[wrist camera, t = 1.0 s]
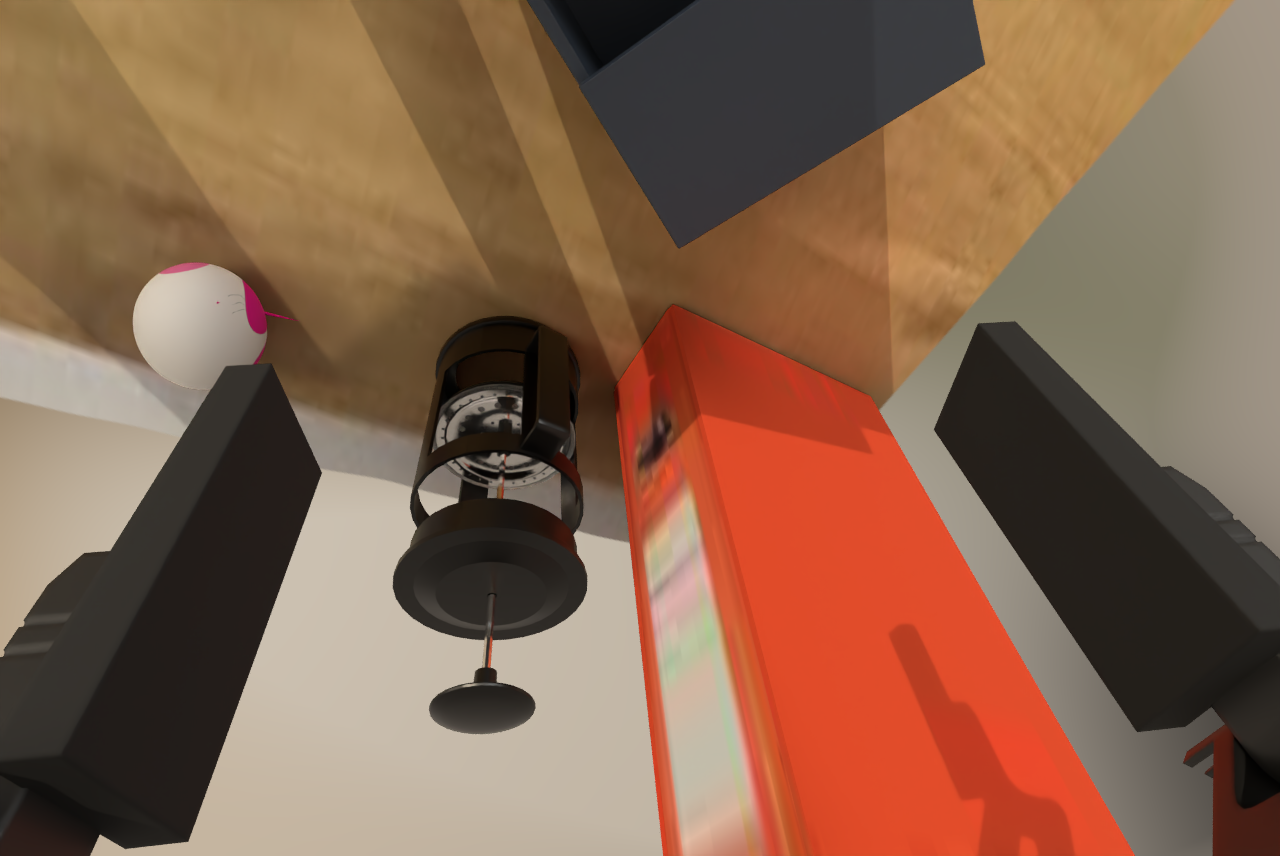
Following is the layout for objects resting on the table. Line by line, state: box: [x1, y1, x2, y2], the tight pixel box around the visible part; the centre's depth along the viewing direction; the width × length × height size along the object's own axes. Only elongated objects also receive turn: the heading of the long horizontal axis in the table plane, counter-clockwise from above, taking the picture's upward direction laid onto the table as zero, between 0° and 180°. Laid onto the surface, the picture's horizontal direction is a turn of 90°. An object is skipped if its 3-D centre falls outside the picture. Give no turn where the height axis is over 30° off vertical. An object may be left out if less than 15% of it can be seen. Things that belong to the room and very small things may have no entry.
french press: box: [393, 316, 587, 734], centre depth 34 cm, size 12×9×23 cm
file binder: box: [614, 304, 1135, 856], centre depth 34 cm, size 8×17×32 cm, turn 60°
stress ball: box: [133, 263, 298, 390], centre depth 36 cm, size 8×8×7 cm
